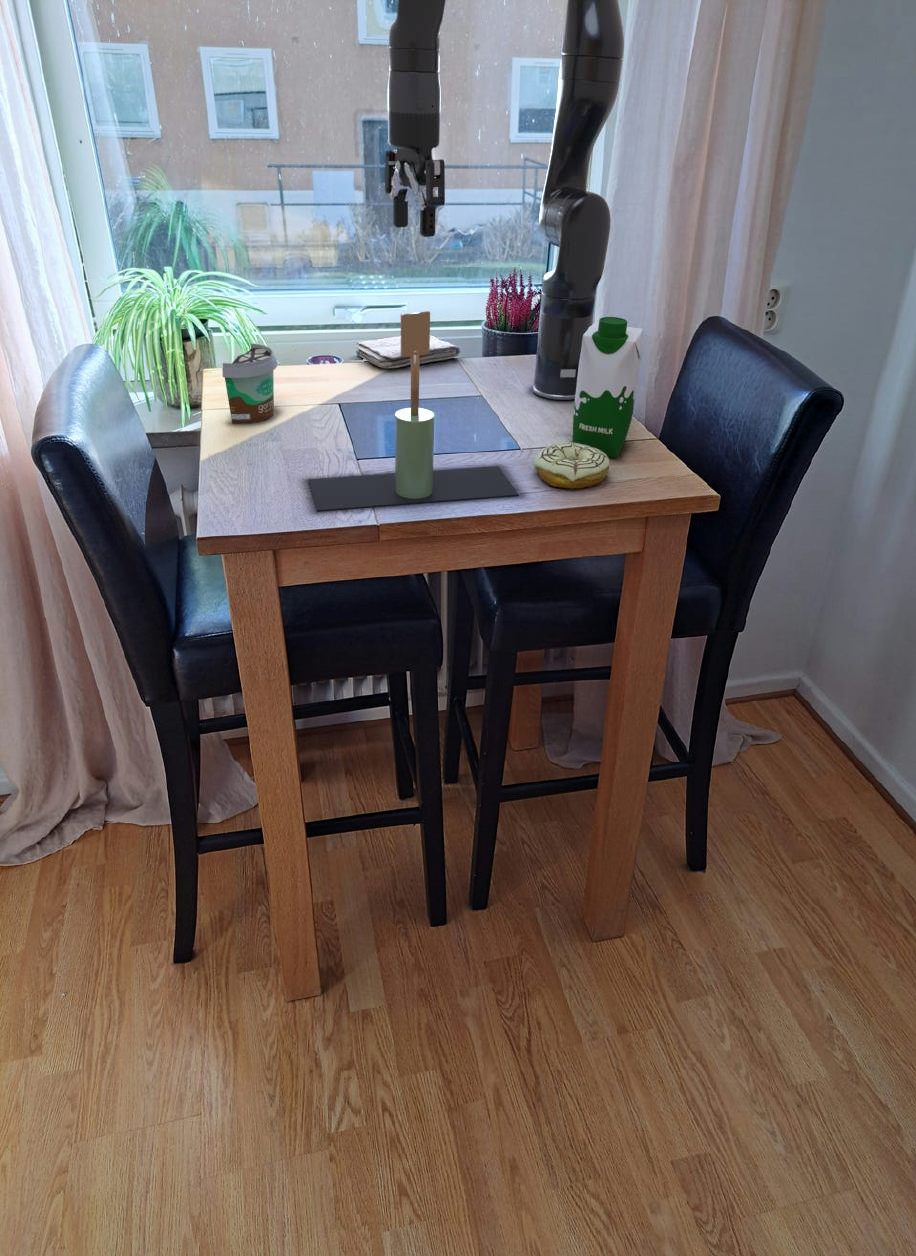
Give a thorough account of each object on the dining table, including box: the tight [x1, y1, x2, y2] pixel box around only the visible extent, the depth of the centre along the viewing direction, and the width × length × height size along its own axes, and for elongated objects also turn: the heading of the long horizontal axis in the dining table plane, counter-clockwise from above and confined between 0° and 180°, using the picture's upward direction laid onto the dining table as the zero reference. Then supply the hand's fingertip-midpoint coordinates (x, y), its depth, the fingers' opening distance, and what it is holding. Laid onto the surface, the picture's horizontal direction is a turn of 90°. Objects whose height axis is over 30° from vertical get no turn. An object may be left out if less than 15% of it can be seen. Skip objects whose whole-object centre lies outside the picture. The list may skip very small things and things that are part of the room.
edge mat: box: [307, 465, 520, 512], centre depth 124 cm, size 28×10×1 cm, turn 104°
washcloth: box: [355, 334, 461, 370], centre depth 174 cm, size 12×18×3 cm, turn 124°
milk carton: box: [572, 316, 644, 460], centre depth 134 cm, size 9×9×20 cm
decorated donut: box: [533, 441, 611, 489], centre depth 128 cm, size 10×11×4 cm
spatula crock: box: [394, 310, 435, 499], centre depth 116 cm, size 5×5×24 cm
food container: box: [222, 342, 278, 425], centre depth 143 cm, size 12×6×10 cm, turn 169°
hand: (413, 231), depth 135 cm, fingers open, 8 cm apart
